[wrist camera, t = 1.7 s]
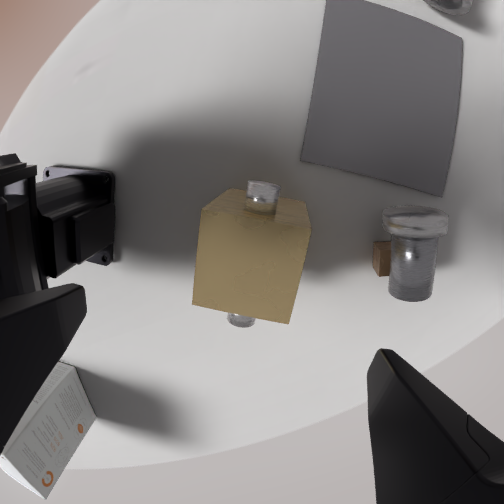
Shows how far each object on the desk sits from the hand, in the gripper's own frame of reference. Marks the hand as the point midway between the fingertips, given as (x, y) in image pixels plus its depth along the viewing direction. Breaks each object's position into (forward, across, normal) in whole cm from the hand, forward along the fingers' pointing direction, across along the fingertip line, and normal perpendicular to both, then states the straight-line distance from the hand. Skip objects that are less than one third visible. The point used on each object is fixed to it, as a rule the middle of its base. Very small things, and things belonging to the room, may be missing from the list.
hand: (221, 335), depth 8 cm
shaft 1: (+11, -8, -1) cm, 14 cm away
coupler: (+11, 0, 0) cm, 11 cm away
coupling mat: (+11, -6, -10) cm, 16 cm away
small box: (+11, +18, +21) cm, 30 cm away
